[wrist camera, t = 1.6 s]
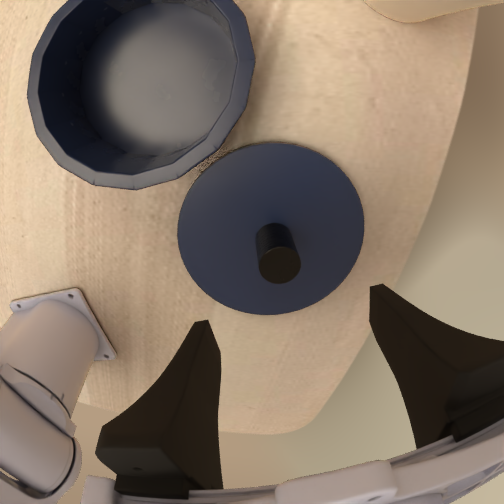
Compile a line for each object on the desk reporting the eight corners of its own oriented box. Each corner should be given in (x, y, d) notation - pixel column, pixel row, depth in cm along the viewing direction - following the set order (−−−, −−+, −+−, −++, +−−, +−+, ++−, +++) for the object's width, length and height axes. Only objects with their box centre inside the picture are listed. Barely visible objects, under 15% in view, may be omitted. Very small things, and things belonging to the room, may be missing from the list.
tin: (98, 185, 20) (62, 214, 15) (60, 34, 14) (15, 25, 10) (266, 141, 19) (276, 157, 14) (227, -25, 14) (225, -61, 9)
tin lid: (208, 319, 25) (204, 360, 21) (157, 165, 19) (136, 185, 15) (362, 287, 24) (382, 324, 20) (349, 126, 19) (378, 135, 15)
